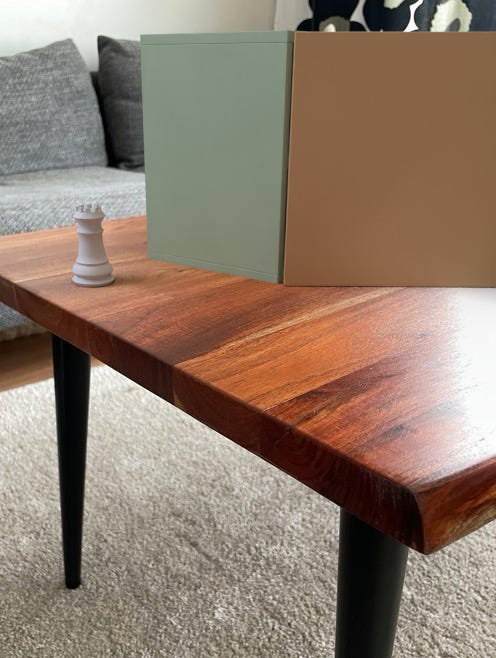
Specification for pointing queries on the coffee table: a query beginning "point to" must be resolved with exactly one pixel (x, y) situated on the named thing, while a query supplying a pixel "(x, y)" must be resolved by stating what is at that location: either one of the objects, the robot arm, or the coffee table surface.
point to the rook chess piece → (91, 249)
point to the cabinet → (218, 149)
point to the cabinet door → (392, 160)
